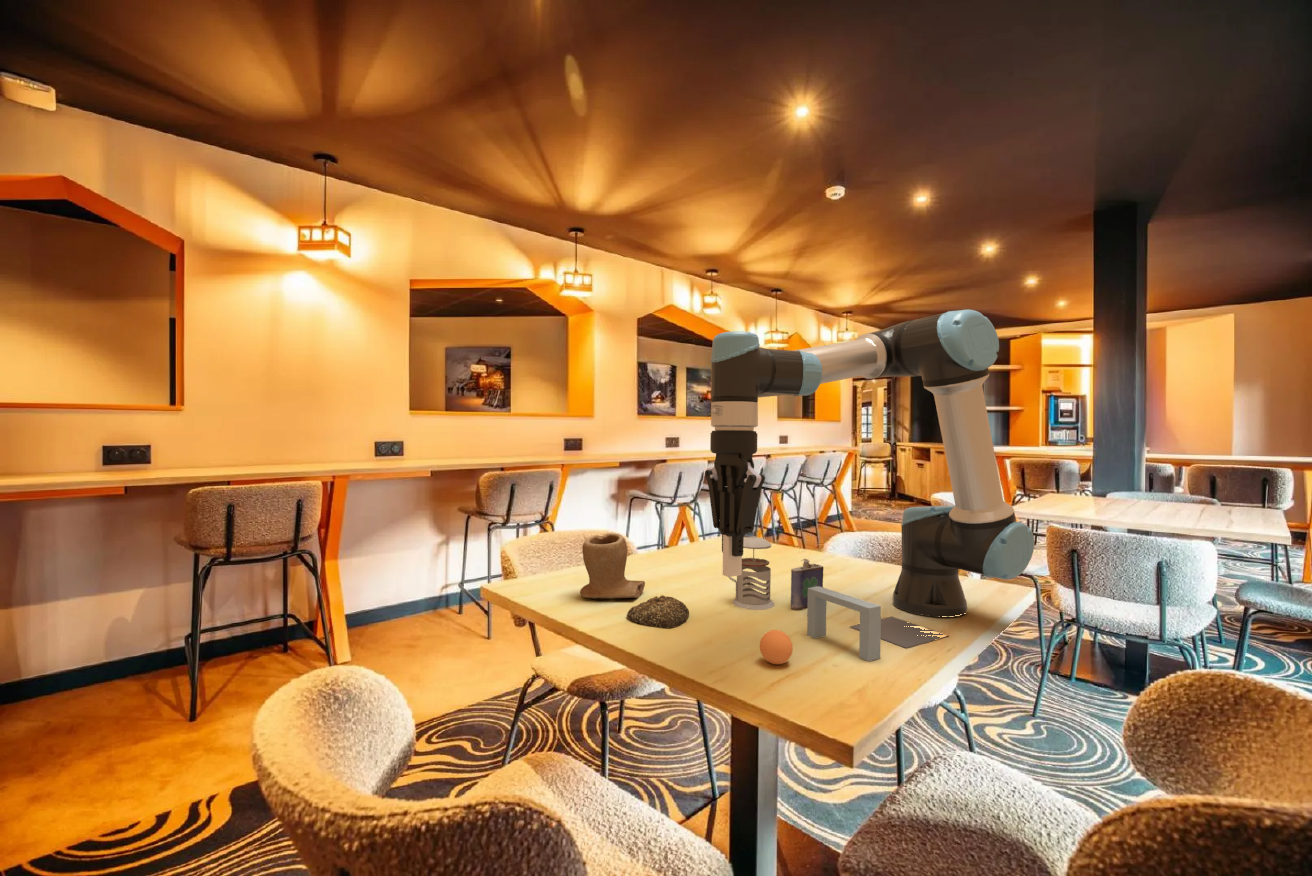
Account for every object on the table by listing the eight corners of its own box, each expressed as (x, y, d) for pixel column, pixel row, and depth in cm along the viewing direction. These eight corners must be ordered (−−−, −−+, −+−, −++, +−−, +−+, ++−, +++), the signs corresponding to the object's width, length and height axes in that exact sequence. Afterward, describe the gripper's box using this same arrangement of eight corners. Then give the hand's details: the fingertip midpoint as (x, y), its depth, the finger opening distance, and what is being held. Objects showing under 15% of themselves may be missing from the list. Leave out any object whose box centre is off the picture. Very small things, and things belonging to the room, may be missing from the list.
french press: (778, 610, 126) (780, 497, 126) (726, 609, 126) (727, 497, 126) (770, 597, 136) (771, 493, 135) (721, 596, 136) (723, 492, 135)
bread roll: (668, 633, 111) (669, 608, 111) (618, 621, 118) (619, 597, 118) (700, 616, 122) (701, 593, 122) (653, 606, 129) (653, 584, 129)
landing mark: (891, 617, 121) (891, 616, 121) (949, 636, 110) (949, 635, 110) (849, 627, 115) (849, 626, 115) (906, 648, 104) (906, 647, 104)
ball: (777, 654, 100) (777, 623, 100) (799, 665, 96) (799, 633, 96) (752, 660, 98) (753, 628, 98) (774, 672, 93) (775, 638, 93)
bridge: (818, 632, 112) (818, 586, 112) (880, 658, 99) (881, 605, 99) (807, 635, 110) (807, 588, 110) (868, 661, 98) (869, 608, 97)
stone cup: (575, 604, 129) (576, 538, 128) (584, 590, 140) (584, 529, 140) (642, 606, 128) (642, 539, 128) (645, 591, 140) (645, 530, 140)
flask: (796, 611, 125) (796, 562, 125) (786, 607, 128) (787, 560, 128) (825, 605, 130) (826, 558, 130) (815, 602, 132) (816, 556, 132)
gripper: (692, 429, 95) (690, 569, 95) (740, 428, 84) (738, 587, 84) (727, 429, 99) (726, 564, 99) (779, 429, 88) (777, 581, 88)
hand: (732, 574), depth 92 cm, fingers closed
